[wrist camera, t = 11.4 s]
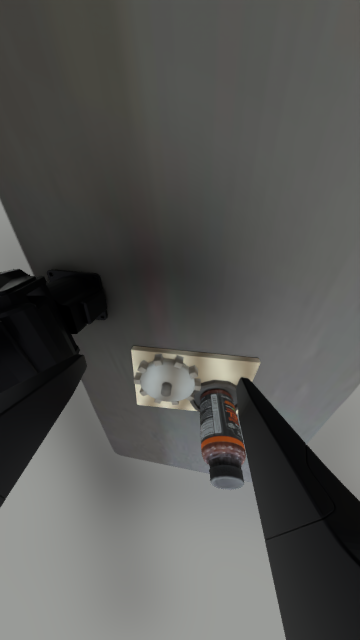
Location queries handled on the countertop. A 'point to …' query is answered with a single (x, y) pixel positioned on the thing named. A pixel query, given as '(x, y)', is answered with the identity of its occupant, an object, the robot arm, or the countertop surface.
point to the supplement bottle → (221, 439)
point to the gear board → (204, 372)
